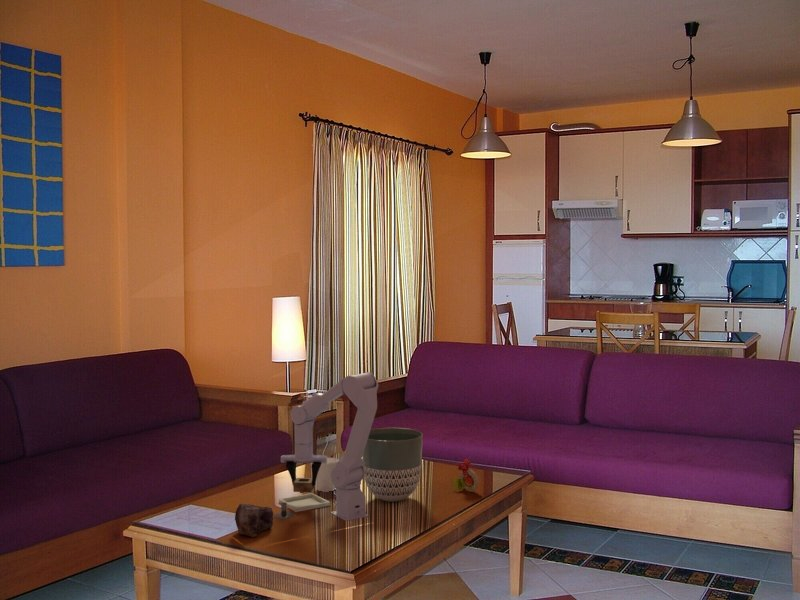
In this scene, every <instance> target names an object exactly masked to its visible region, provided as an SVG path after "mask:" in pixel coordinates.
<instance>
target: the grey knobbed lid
mask: <svg viewBox="0 0 800 600" xmlns="http://www.w3.org/2000/svg"><path fill="white" fill-rule="evenodd" d="M287 508H288V507H286V502H283V503H280V509H281V510H280V512H277V513H273V519H274V518H275V519H279V520H287V519H292V518H293V517H295V514H294V512H288V509H287Z"/></svg>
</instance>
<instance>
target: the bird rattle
mask: <svg viewBox="0 0 800 600" xmlns="http://www.w3.org/2000/svg"><path fill="white" fill-rule="evenodd" d="M455 465H456V466H458V467H457V469H458V471H460V475H459V478H458V477H455V478H453V480H452V484H453V487H452V488H453V490H456V489H457V492H462V490H464V489H466V490H467V491H469V492H471V493H475V492H476V489H477V488H478V486H479V481H480V480H479V477H478V475H477V474H476V472H475V471H473V470H472V469H470V467H471V465H472V462H471V461H470V460H469V459H468V458H465V459H464V460H463V462H461V463H455Z"/></svg>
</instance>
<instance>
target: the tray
mask: <svg viewBox="0 0 800 600" xmlns="http://www.w3.org/2000/svg"><path fill="white" fill-rule="evenodd" d="M283 502H286V507H287V508H288V509H290V511H293V512H294V513H299V512H305V511H310V510H314V509H320V508H324V507H329V506H331V502H330V501H329V500H327V499H324V498H323V497H321V496H319V495H317V494H315V493H314V492H309V493H303V494H300V495H294V496H288V497H283V498H279V499H278V503H279V504H281V503H283Z"/></svg>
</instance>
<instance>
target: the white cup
mask: <svg viewBox="0 0 800 600" xmlns="http://www.w3.org/2000/svg"><path fill="white" fill-rule="evenodd" d="M339 460H340V459H338V458H336V457H327V463H322V464H321V466H320V469H319V471H318V474H317V478H316V489H317V491H319V492H320V491H322V492H321V493H330V492H329V491H333V489H334V488H335V485H334V484H333V483H332V480H331V472H332V470H333V469H334V468H335V467H336V465H337V462H338V461H339ZM333 492H334V491H333Z"/></svg>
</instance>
